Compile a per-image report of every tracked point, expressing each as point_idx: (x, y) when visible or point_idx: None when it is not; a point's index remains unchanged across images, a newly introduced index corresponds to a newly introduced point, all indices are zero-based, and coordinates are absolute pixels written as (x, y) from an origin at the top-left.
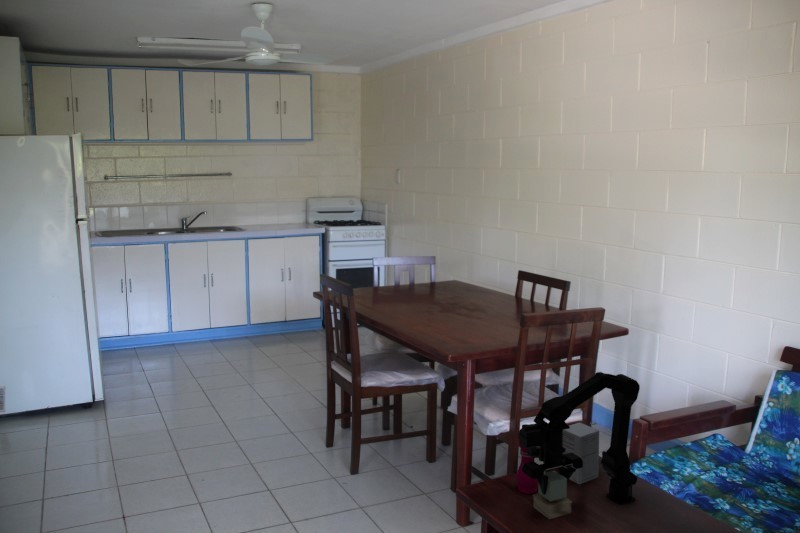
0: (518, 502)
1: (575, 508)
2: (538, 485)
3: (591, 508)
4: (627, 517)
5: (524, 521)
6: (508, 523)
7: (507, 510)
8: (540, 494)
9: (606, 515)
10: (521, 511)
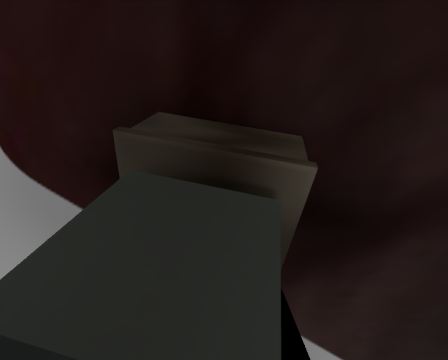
0: (107, 7)
1: (325, 232)
2: (89, 206)
3: (381, 270)
4: (408, 354)
5: (70, 174)
6: (7, 149)
7: (21, 55)
8: (165, 156)
9: (367, 316)
10: (86, 107)
